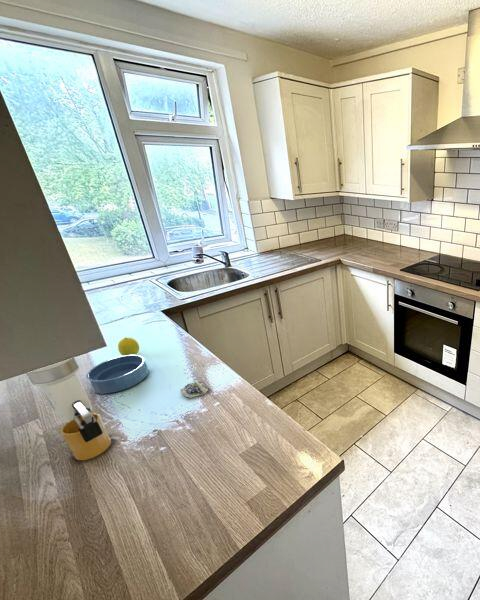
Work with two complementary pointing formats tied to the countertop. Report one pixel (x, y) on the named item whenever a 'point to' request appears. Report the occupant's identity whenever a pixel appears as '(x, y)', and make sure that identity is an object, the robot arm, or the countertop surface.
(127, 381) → the bowl
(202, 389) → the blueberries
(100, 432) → the robot arm
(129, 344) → the lemon
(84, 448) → the cup
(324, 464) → the countertop surface
